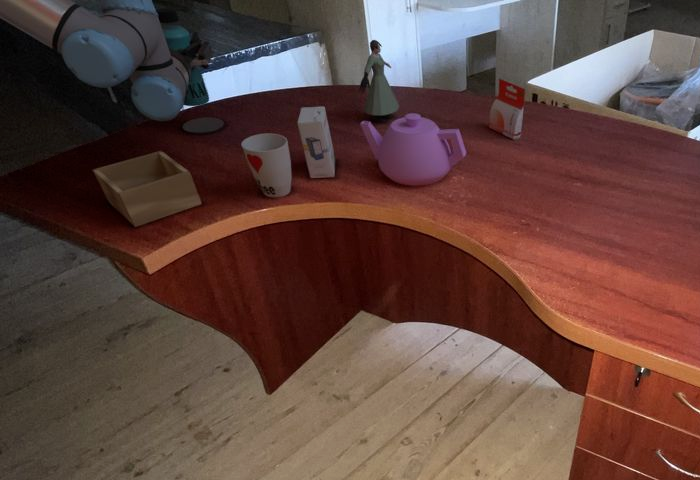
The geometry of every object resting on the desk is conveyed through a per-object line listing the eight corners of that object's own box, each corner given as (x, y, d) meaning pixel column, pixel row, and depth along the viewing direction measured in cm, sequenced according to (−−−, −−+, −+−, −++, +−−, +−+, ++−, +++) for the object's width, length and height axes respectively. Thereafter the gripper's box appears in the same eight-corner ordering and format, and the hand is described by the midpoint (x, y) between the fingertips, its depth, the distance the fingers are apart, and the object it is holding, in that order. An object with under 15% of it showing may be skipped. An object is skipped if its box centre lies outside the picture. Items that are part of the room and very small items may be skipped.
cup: (249, 188, 107) (234, 139, 100) (288, 177, 111) (276, 130, 104) (265, 205, 103) (251, 155, 96) (305, 193, 107) (294, 144, 100)
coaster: (176, 125, 127) (175, 123, 127) (213, 116, 132) (212, 114, 132) (194, 137, 123) (193, 135, 123) (231, 127, 128) (230, 125, 128)
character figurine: (382, 134, 129) (373, 53, 116) (351, 129, 130) (339, 47, 118) (409, 111, 140) (404, 34, 128) (380, 106, 141) (372, 30, 129)
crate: (108, 202, 101) (92, 169, 97) (173, 181, 108) (160, 150, 103) (135, 227, 96) (119, 194, 91) (202, 204, 102) (190, 172, 98)
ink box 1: (334, 178, 112) (324, 121, 104) (309, 179, 111) (296, 122, 103) (336, 160, 118) (326, 105, 110) (311, 160, 117) (300, 105, 109)
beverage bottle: (180, 104, 125) (145, 6, 112) (211, 101, 128) (180, 4, 114) (183, 114, 121) (146, 13, 107) (214, 111, 124) (183, 11, 110)
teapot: (472, 162, 121) (473, 107, 112) (457, 195, 109) (457, 137, 101) (378, 150, 123) (372, 96, 114) (354, 182, 111) (345, 123, 103)
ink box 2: (513, 141, 130) (517, 91, 122) (488, 128, 135) (490, 80, 127) (522, 138, 131) (526, 89, 124) (497, 125, 136) (499, 77, 128)
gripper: (118, 97, 104) (137, 60, 119) (227, 91, 108) (232, 56, 124) (100, 54, 98) (123, 21, 114) (215, 50, 103) (221, 19, 119)
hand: (179, 39), depth 119 cm, fingers closed on beverage bottle, 6 cm apart
